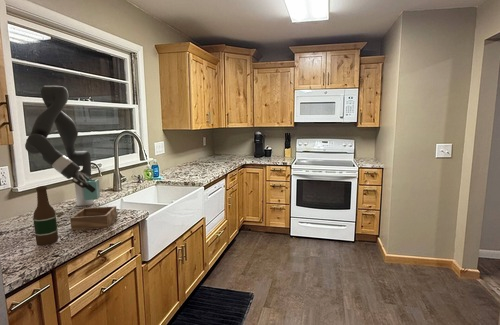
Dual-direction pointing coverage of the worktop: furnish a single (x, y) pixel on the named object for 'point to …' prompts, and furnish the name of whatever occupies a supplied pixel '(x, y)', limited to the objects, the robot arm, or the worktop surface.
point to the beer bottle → (44, 219)
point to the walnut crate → (93, 218)
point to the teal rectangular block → (96, 193)
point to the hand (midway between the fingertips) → (95, 189)
